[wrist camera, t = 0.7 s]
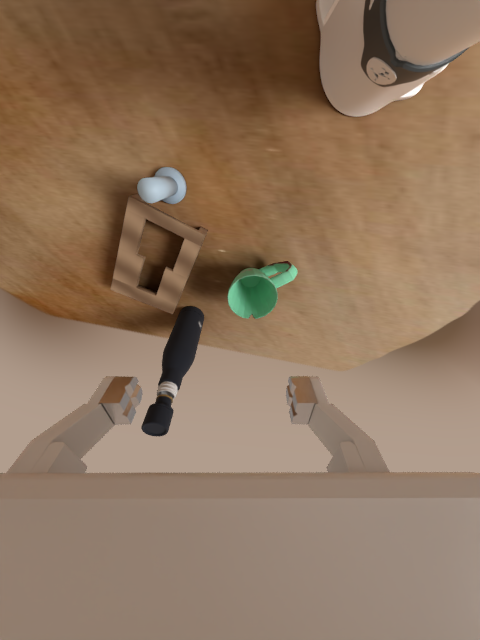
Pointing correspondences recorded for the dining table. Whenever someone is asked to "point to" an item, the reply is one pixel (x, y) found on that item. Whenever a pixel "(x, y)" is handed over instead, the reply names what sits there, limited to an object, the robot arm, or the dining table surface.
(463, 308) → the dining table surface
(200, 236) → the keyhole board
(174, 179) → the peg
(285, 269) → the mug
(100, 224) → the dining table surface
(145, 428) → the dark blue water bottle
